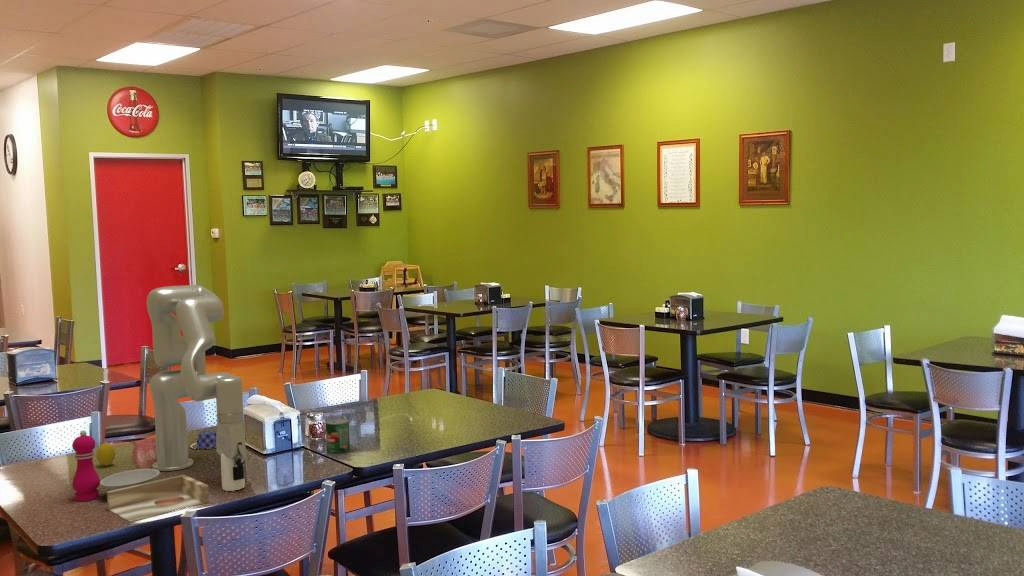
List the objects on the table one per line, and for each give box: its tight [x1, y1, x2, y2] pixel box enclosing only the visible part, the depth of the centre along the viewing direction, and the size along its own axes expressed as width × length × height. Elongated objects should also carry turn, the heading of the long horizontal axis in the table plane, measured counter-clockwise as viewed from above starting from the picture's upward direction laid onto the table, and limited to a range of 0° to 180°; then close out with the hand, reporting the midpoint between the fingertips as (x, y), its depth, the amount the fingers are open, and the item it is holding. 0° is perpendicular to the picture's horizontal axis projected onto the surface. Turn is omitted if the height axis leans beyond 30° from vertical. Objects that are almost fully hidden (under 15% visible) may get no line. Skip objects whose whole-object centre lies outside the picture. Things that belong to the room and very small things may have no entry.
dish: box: [99, 468, 161, 491], centre depth 255 cm, size 18×14×5 cm
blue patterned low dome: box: [189, 430, 216, 450], centre depth 309 cm, size 12×12×5 cm
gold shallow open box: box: [106, 474, 210, 523], centre depth 243 cm, size 16×22×5 cm
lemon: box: [96, 442, 116, 467], centre depth 285 cm, size 6×6×8 cm
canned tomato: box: [325, 418, 351, 456], centre depth 296 cm, size 8×8×11 cm
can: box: [220, 453, 246, 492], centre depth 257 cm, size 6×6×12 cm
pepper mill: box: [71, 430, 101, 502], centre depth 251 cm, size 7×7×20 cm
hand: (233, 476), depth 258 cm, fingers closed on can, 6 cm apart
